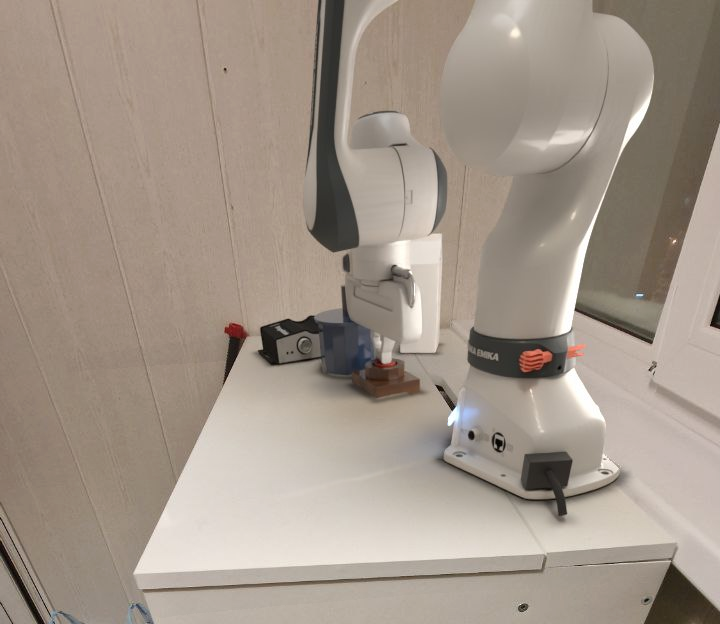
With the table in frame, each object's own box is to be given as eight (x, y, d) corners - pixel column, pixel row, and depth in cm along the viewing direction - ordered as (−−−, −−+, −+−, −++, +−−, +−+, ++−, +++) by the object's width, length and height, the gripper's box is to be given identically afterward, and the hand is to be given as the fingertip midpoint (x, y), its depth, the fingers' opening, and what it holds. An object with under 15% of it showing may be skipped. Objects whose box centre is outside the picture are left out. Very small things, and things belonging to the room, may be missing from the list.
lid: (396, 323, 97) (396, 285, 93) (330, 334, 93) (327, 295, 90) (367, 311, 106) (365, 276, 102) (305, 320, 102) (301, 284, 98)
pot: (394, 371, 102) (393, 319, 97) (336, 382, 99) (332, 328, 93) (368, 356, 110) (366, 308, 105) (313, 366, 107) (309, 316, 101)
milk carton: (435, 353, 110) (440, 235, 97) (399, 353, 111) (399, 237, 98) (438, 344, 115) (443, 231, 102) (404, 344, 116) (405, 232, 104)
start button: (399, 374, 92) (399, 362, 91) (379, 377, 91) (379, 366, 90) (389, 368, 95) (389, 357, 94) (370, 372, 94) (370, 361, 93)
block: (419, 392, 92) (420, 366, 90) (376, 401, 90) (375, 375, 88) (393, 377, 99) (392, 353, 97) (352, 385, 97) (351, 360, 95)
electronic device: (252, 323, 114) (343, 310, 119) (257, 352, 117) (344, 338, 122) (269, 336, 104) (367, 322, 109) (273, 367, 108) (368, 352, 113)
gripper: (434, 268, 77) (430, 374, 86) (372, 252, 91) (374, 345, 100) (394, 273, 75) (394, 381, 84) (336, 256, 89) (342, 350, 98)
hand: (383, 361), depth 92 cm, fingers closed, pressing on start button
